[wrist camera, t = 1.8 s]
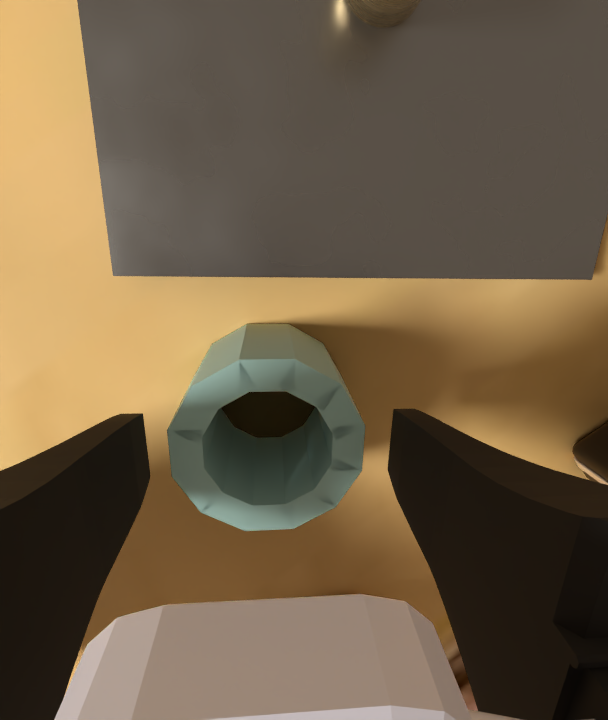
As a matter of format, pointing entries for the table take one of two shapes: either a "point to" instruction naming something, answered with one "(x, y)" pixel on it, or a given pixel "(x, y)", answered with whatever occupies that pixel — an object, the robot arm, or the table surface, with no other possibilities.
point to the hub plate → (351, 136)
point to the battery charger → (593, 455)
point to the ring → (266, 454)
